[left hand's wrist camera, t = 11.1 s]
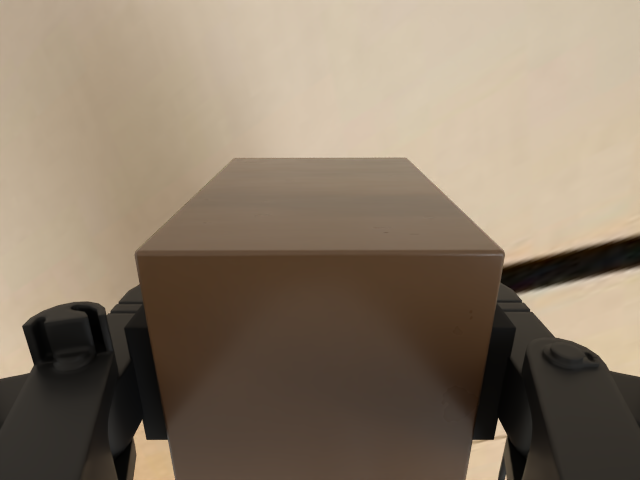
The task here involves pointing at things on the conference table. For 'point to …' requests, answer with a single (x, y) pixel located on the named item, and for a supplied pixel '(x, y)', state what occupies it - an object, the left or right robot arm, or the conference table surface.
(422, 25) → the conference table surface
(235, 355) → the bar
